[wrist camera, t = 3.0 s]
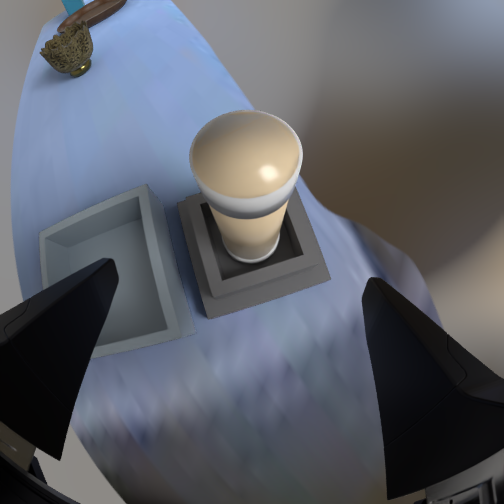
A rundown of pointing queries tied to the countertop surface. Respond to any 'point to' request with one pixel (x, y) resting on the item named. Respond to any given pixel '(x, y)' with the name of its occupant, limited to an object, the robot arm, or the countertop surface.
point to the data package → (73, 5)
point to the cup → (70, 50)
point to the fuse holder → (257, 276)
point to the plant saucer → (92, 13)
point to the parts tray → (124, 268)
